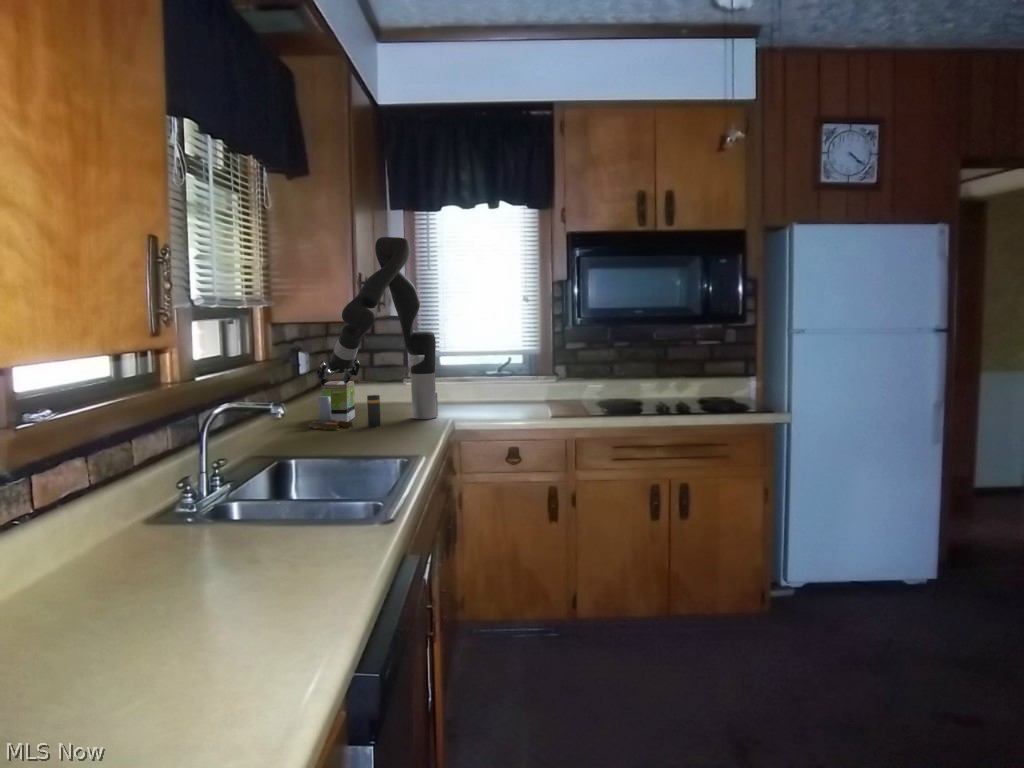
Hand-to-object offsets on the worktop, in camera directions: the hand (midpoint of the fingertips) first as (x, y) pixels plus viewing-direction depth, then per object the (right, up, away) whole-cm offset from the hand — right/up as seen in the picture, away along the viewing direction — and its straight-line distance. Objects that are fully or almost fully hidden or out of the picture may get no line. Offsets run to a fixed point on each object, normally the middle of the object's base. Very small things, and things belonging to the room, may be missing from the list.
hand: (333, 382), depth 285 cm
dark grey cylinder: (+13, -16, +9) cm, 22 cm away
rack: (-2, -16, +6) cm, 17 cm away
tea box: (-3, -15, +25) cm, 29 cm away
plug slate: (-5, -16, +8) cm, 19 cm away
